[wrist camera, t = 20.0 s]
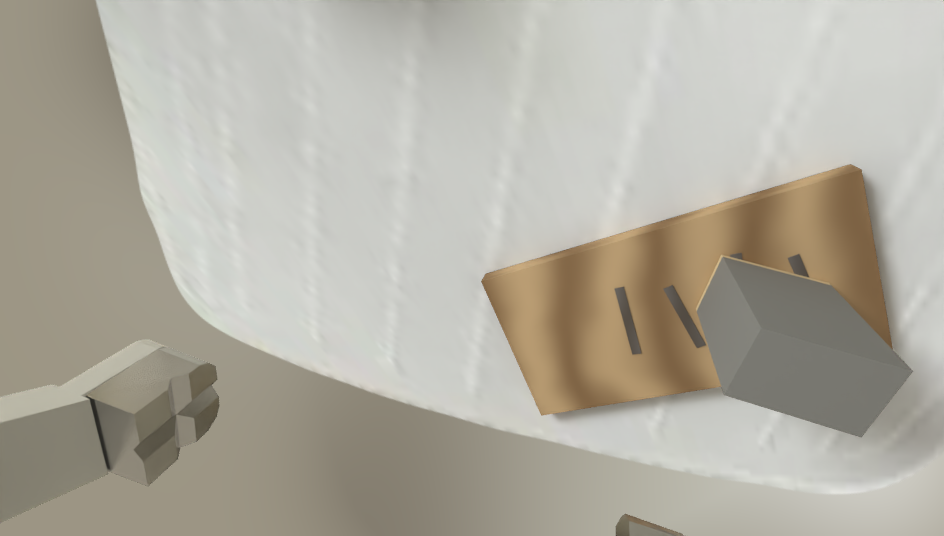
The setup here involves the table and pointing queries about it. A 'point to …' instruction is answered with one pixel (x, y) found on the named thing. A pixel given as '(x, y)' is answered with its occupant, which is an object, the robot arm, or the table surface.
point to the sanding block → (796, 347)
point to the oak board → (675, 290)
